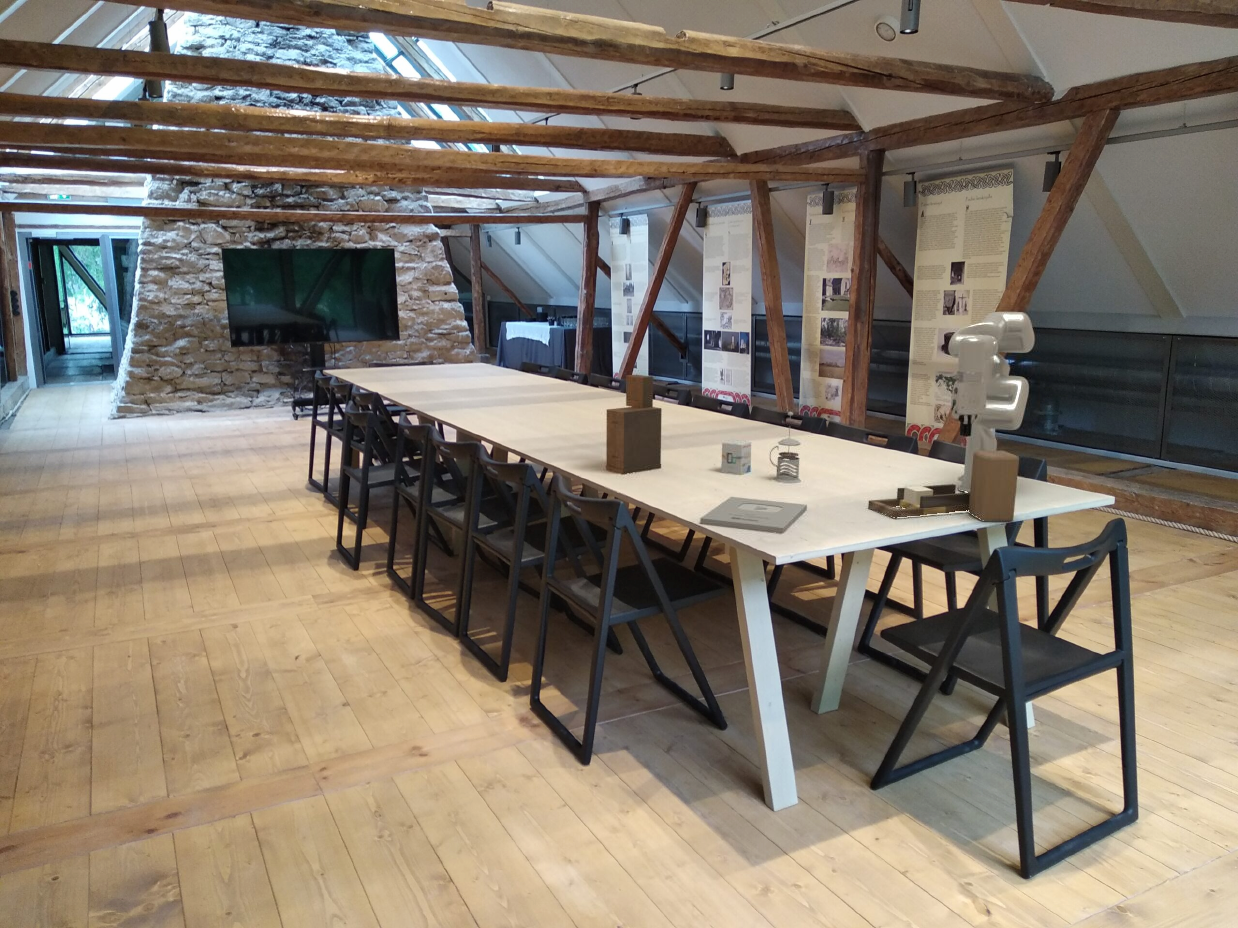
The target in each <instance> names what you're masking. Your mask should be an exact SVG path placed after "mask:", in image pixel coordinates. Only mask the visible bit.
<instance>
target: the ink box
mask: <svg viewBox="0 0 1238 928" xmlns="http://www.w3.org/2000/svg"><path fill="white" fill-rule="evenodd" d="M751 464H752V441H746V440H735V439H731V440H726V441H724V442H722V443H721V471H720V473H722V474H729V475H737V476H742V475H745V474H748V473H750V472H751V470H752V467H751Z"/></svg>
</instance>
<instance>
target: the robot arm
mask: <svg viewBox="0 0 1238 928" xmlns="http://www.w3.org/2000/svg"><path fill="white" fill-rule="evenodd" d="M1034 345H1035V332H1034V329H1033V325H1032V321H1031V319H1030V317H1029V315H1028V314H1027V313H1025V312H1023V311H1022V312H1020V311H993V312H991V313H989V314H987V315H986V316H985V317H984V318H983V319H982V321H980V322H979V323H975V324H972V325H968V326H964V327H962V328H959V329H957V330H956V331H955V332H954V333H953V335H951V338H950V340H949V343H948V352H949V355H950V356H951V357H953V358H954V359H957V360H958V361H957V369H956V370H957V371H956V374H954V379H955V380H956V381H955V382H954V385H953V389H952V394H951V399H950V412H951V415H950V417H951V418H953V419H956V420H958V423H959V424H960V425H959V426H960V427H959V435H960V436H961V437H966V445H965V457H964V468H963V469H964V472H963V474H962V475H961V476H958V477H957V481H960V483H961V484H959V485H958V486H957V490H958V489H960V490H963V491H967V492H970V488H971V477H972V465H973V454H974V452H975V451H997V446H998V441H997V438H996V436H995V434H994V433H993V432H992V430H1006V431H1007V430H1008V431H1014V430H1018V429H1019V428H1020V427H1021V424H1022V423H1023V418H1024V415H1025V410H1026V405H1027V402H1028V398H1029V391H1030V390H1029V389H1030V385H1029V382H1028V380H1027V379H1026V378H1025V377H1023V376H1017V375H1009V374H1010V370H1011V366H1010V364H1009V362H1008V361H1007V360H1006V359H1005V358H1004V357H1003V356H1002V355H1001V354H1000V353H1012V354H1013V353H1017V354H1019V353H1020V354H1021V353H1022V354H1023V353H1029V352H1030V351H1032V349H1033V348H1034ZM991 429H992V430H991Z"/></svg>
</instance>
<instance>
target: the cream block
mask: <svg viewBox="0 0 1238 928" xmlns="http://www.w3.org/2000/svg"><path fill="white" fill-rule="evenodd" d="M923 486H924V485H914V486H904V488H905V489H904V501H905V502H908V503H910V504H913V505H920V496H929V495H933V490H932V489H929V488H926V487H923Z"/></svg>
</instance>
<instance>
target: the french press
mask: <svg viewBox="0 0 1238 928" xmlns="http://www.w3.org/2000/svg"><path fill="white" fill-rule="evenodd" d="M793 415H794V413H793V412H792V411H788V412H787V416H789V419H791V416H793ZM790 436H791V427H789V432H788V438H783V439H781V440H779V441H778V442H777V444H778V445H780V446H788V447H795V446H796V447H797V446H800V445H801V442H800V441H799V440H797V439H795V438H791V437H790ZM778 445H776V446H773V447H772V449H770V451H769V461H770V463H771V465H772V466H774V467H776V477H775V478H774V479H773V480H775V481H774V482H776V483H781V482H782V483H784V484H797V483H801V482H802V480H801V478H800V477H799V475H800V472H799V471H800V457H799V453H797V452H793V451H792V452H791V451H790V449H788V451H783V452H782V451H781V452H779V453H778V455H779V456H777V464H775V463H774V462H773V460H772V458H771V457H772V456H771V455H772V454H771V453H772V451H774V450H775V449H779V446H778ZM794 470H795V471H794Z"/></svg>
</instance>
